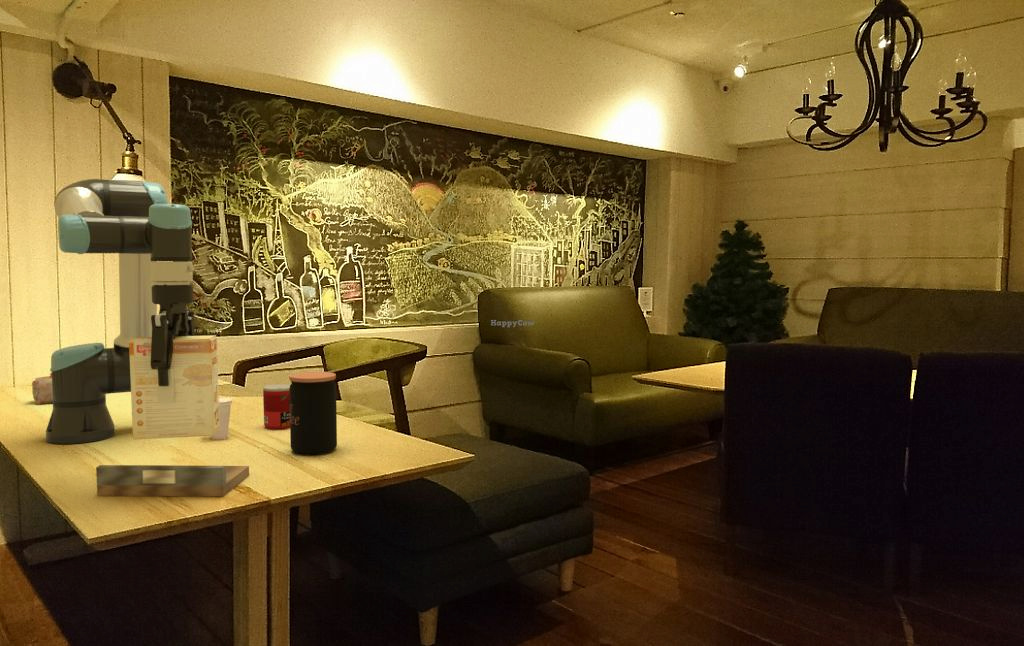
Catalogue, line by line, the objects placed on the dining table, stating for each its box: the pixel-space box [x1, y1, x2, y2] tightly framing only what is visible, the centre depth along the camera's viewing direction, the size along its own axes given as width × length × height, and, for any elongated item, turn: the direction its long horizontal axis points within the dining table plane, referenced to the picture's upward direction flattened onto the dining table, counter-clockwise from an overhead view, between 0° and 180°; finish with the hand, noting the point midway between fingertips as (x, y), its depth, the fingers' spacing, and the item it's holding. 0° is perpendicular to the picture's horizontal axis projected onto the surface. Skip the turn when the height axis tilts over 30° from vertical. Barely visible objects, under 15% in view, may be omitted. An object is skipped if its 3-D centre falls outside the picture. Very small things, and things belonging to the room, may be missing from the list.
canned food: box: [262, 383, 291, 431], centre depth 202 cm, size 8×8×11 cm
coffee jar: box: [289, 371, 338, 456], centre depth 177 cm, size 11×11×18 cm
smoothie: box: [211, 383, 233, 441], centre depth 189 cm, size 6×6×14 cm
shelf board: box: [95, 464, 250, 497], centre depth 150 cm, size 24×14×6 cm, turn 90°
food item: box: [31, 372, 53, 405], centre depth 237 cm, size 14×8×10 cm, turn 125°
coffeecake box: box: [129, 334, 220, 440], centre depth 149 cm, size 15×7×20 cm, turn 102°
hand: (176, 398), depth 150 cm, fingers closed on coffeecake box, 8 cm apart
